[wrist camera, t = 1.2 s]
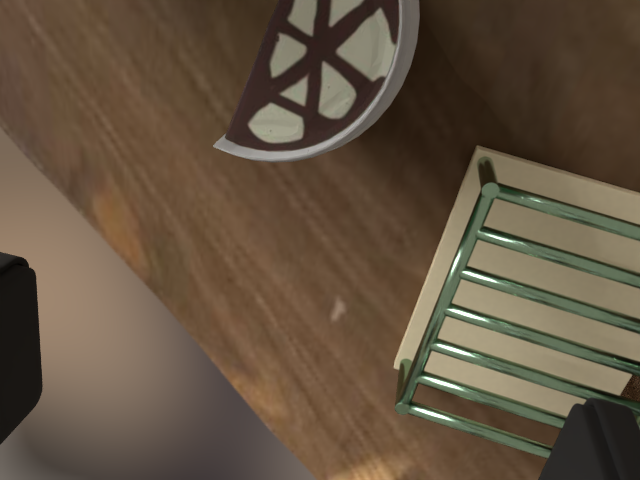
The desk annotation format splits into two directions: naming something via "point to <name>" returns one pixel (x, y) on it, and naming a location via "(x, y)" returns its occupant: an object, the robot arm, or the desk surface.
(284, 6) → the food container
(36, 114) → the desk surface
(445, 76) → the desk surface
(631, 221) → the dish rack
